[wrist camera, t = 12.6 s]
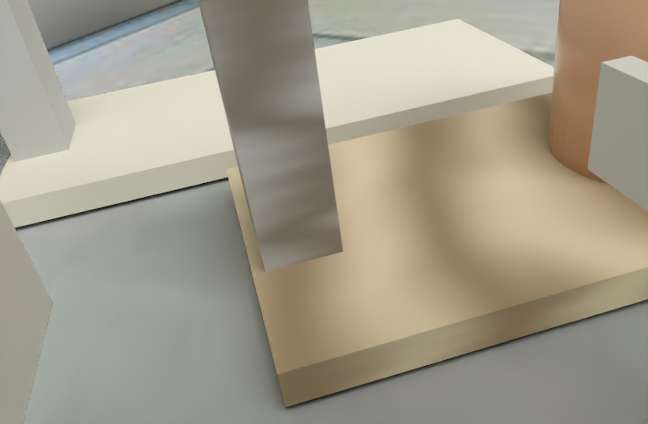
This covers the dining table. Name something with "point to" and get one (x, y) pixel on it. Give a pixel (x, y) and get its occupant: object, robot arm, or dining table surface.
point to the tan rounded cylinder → (589, 69)
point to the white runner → (223, 112)
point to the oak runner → (404, 219)
